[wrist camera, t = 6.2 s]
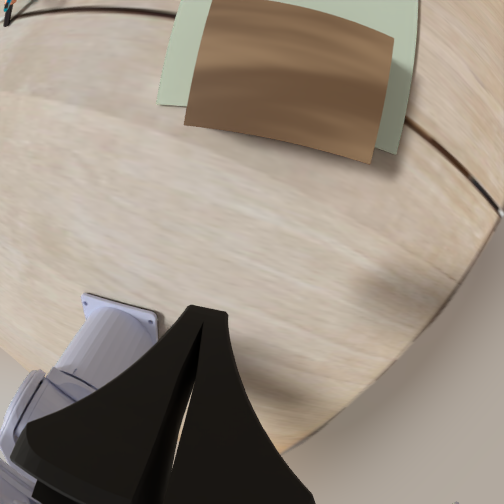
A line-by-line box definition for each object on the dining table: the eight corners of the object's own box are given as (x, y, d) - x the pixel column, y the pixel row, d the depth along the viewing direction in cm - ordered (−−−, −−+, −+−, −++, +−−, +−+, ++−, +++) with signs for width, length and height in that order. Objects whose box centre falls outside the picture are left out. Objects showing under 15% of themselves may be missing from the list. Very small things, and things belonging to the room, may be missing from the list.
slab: (370, 164, 13) (394, 38, 10) (183, 125, 13) (213, -5, 9) (353, 157, 16) (375, 49, 12) (197, 125, 15) (221, 14, 12)
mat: (393, 154, 16) (396, 155, 15) (158, 104, 15) (155, 104, 15) (415, -18, 9) (417, -20, 8) (209, -66, 8) (209, -69, 8)
